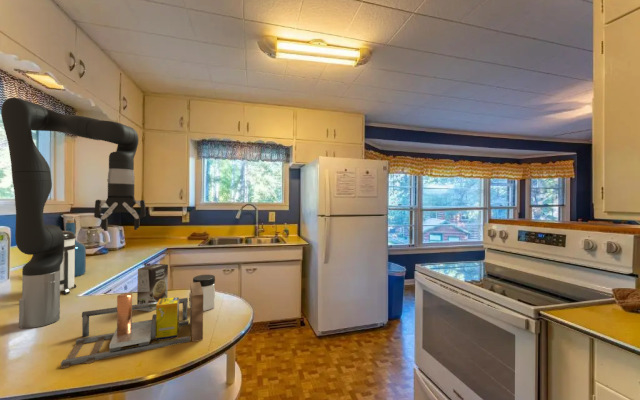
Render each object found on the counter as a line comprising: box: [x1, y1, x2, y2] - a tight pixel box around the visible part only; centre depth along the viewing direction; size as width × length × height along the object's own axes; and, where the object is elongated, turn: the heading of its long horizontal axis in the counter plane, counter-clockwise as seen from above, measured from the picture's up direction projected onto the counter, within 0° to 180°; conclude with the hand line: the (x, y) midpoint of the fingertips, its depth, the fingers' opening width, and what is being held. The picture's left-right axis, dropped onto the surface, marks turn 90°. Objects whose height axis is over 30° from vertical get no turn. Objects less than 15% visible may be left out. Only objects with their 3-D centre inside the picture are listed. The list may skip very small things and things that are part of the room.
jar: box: [192, 274, 216, 312], centre depth 112 cm, size 9×8×12 cm
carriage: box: [109, 292, 156, 352], centre depth 85 cm, size 11×13×13 cm
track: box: [60, 319, 191, 369], centre depth 85 cm, size 30×15×1 cm, turn 117°
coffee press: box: [56, 225, 77, 296], centre depth 125 cm, size 17×16×30 cm
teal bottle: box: [64, 219, 87, 278], centre depth 153 cm, size 14×13×30 cm
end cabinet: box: [188, 282, 204, 342], centre depth 92 cm, size 4×14×14 cm, turn 27°
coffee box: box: [136, 263, 169, 312], centre depth 112 cm, size 9×6×16 cm
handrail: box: [81, 297, 189, 338], centre depth 95 cm, size 30×2×8 cm, turn 117°
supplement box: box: [155, 296, 180, 342], centre depth 90 cm, size 6×6×11 cm
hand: (120, 230), depth 97 cm, fingers open, 8 cm apart
